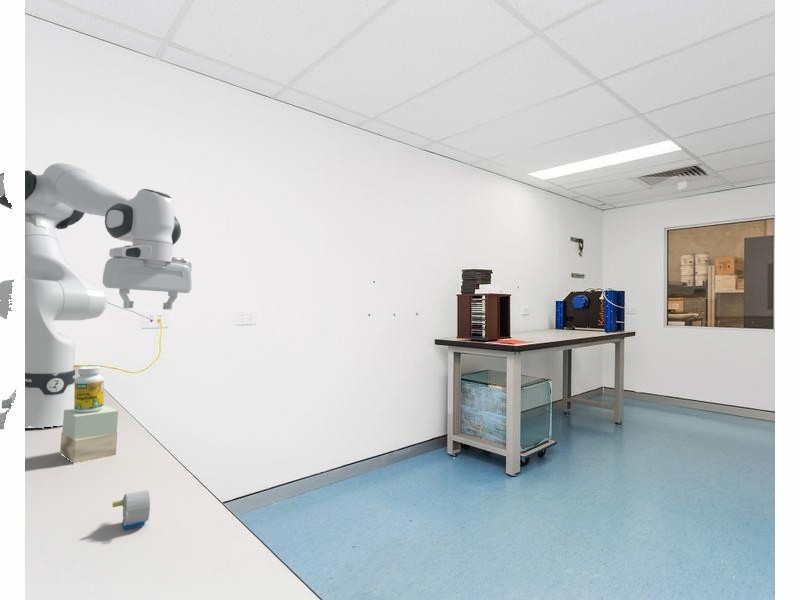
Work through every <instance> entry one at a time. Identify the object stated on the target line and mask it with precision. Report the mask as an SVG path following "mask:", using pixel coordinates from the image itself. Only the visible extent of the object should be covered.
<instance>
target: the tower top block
mask: <svg viewBox="0 0 800 600" xmlns="http://www.w3.org/2000/svg"><path fill="white" fill-rule="evenodd" d="M118 420H119V410H117V409H115V408H113V407H111V406H109V405H106V404H104V406H103V408H102V409H101V410H98V411H93V412H87V413H79V412H76V411H75V410H74V409H66V410H64V418H63V425H62V433H65V434H66V435H67V436H69V437H70V438H72V439H73V440H79V439H85V438H91V437H96V436H102V435H108V434H114V433H117V434H118V432H117V431H118Z"/></svg>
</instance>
